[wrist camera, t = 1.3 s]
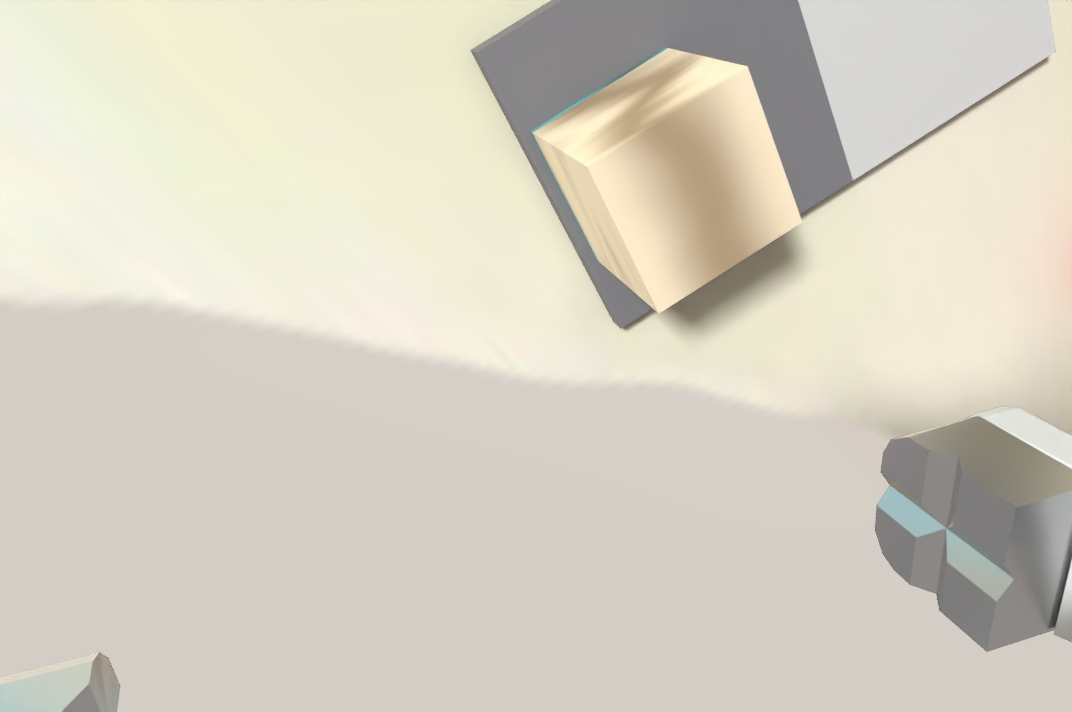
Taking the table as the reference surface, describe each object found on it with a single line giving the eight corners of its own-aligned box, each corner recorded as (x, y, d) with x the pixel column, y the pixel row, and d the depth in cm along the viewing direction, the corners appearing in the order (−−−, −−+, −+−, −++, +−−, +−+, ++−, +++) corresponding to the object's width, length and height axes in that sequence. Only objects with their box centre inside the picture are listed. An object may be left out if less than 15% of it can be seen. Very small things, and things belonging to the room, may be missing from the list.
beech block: (665, 47, 37) (747, 66, 31) (719, 181, 41) (802, 222, 35) (530, 131, 37) (587, 166, 31) (596, 259, 41) (658, 313, 35)
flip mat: (989, -270, 37) (1007, -275, 36) (1039, 49, 45) (1055, 51, 44) (470, 50, 36) (476, 52, 35) (612, 321, 44) (620, 328, 43)
